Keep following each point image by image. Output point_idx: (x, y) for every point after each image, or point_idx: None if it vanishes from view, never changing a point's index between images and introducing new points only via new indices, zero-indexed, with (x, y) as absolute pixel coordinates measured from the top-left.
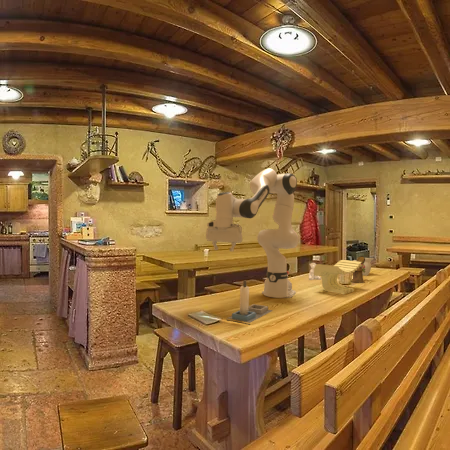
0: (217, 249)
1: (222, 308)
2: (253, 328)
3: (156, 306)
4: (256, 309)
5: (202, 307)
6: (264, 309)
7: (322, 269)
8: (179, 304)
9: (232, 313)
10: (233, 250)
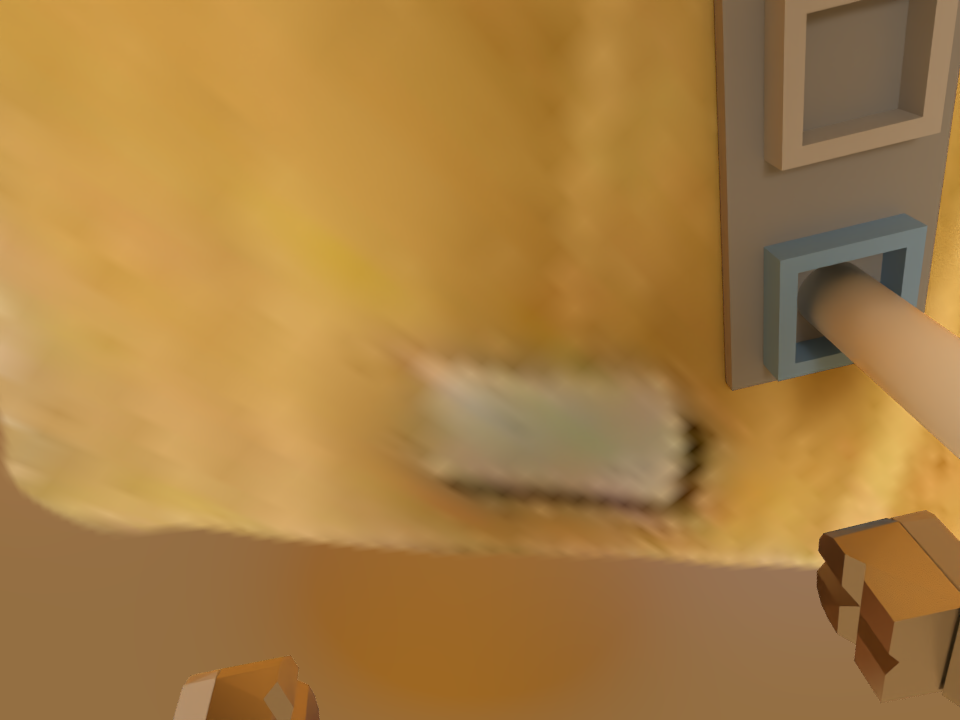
0: (295, 687)
1: (488, 190)
2: None
3: (103, 531)
4: (894, 142)
5: (342, 302)
6: (943, 46)
7: None
8: (134, 386)
9: (778, 375)
10: (934, 530)
